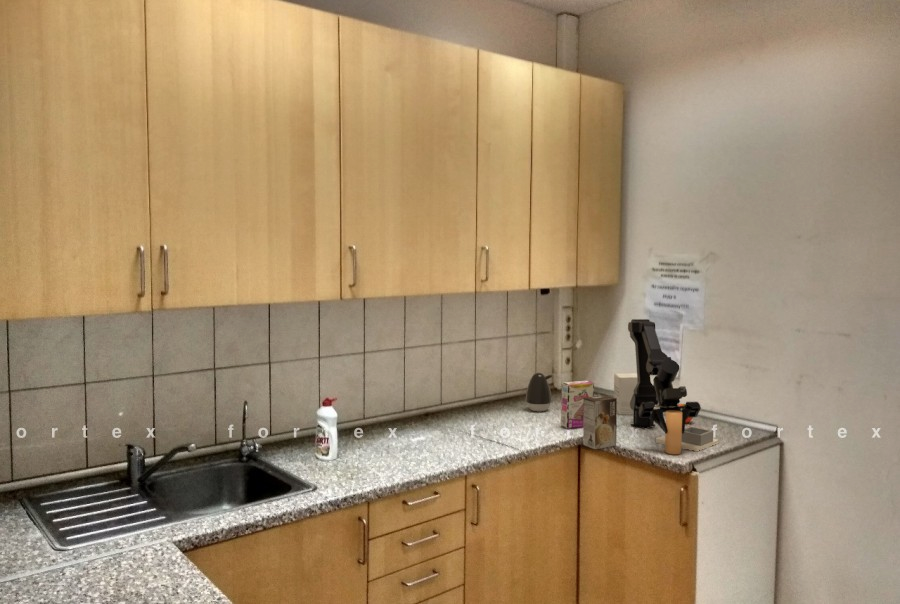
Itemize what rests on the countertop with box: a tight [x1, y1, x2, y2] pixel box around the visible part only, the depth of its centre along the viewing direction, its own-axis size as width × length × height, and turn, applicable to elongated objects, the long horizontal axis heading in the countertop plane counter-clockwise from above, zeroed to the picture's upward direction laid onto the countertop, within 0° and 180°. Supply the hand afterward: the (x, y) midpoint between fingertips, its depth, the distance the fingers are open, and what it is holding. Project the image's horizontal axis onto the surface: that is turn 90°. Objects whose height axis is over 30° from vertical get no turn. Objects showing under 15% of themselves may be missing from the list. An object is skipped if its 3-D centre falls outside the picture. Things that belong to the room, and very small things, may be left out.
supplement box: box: [613, 372, 638, 416], centre depth 282 cm, size 9×9×15 cm
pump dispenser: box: [525, 372, 553, 413], centre depth 286 cm, size 10×10×15 cm
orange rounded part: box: [664, 410, 682, 455], centre depth 228 cm, size 5×5×13 cm
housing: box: [655, 425, 720, 452], centre depth 240 cm, size 15×14×5 cm
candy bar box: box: [560, 380, 595, 430], centre depth 261 cm, size 11×5×16 cm, turn 113°
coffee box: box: [582, 394, 618, 450], centre depth 236 cm, size 9×6×16 cm
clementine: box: [677, 403, 694, 424], centre depth 267 cm, size 8×7×7 cm
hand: (674, 432), depth 226 cm, fingers closed on orange rounded part, 5 cm apart
